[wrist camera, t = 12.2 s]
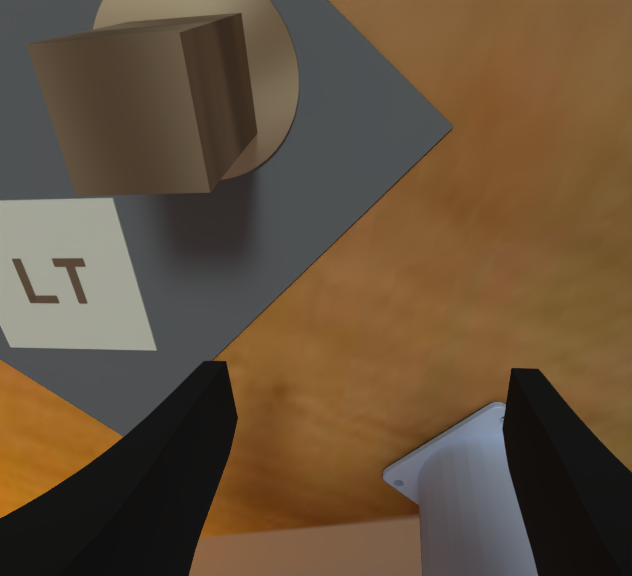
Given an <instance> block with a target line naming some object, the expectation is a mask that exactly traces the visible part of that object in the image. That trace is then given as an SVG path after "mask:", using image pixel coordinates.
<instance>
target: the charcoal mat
mask: <svg viewBox="0 0 632 576" xmlns="http://www.w3.org/2000/svg"><path fill="white" fill-rule="evenodd" d="M102 1H103V0H0V200H43V199H85V198H114V202H115V205H116V209H117V212H118V216H119V219H120V222H121V226H122V229H123V233H124V236H125V240H126V243H127V247H128V250H129V254H130V257H131V260H132V264H133V267H134V271H135V274H136V278H137V281H138V285H139V288H140V292H141V295H142V298H143V302H144V305H145V309H146V312H147V316H148V319H149V323H150V326H151V330H152V333H153V336H154V340H155V343H156V347H157V351H153V350H106V349H59V348H12V347H10V345H9V343H8V341H7V339H6V337H5V335H4V333H3V330H2V328H1V326H0V359H1V360H2V361H4V362H5V363H7V364H8V365H10V366H12V367H13V368H15V369H16V370H18V371H20V372H21V373H23V374H24V375H26V376H28V377H29V378H31V379H32V380H34V381H36V382H37V383H39V384H40V385H42V386H44V387H45V388H47V389H48V390H50V391H52V392H53V393H55V394H56V395H58V396H60V397H61V398H63V399H64V400H66V401H68V402H69V403H71V404H72V405H74V406H76V407H77V408H79V409H80V410H82V411H84V412H85V413H87V414H88V415H90V416H92V417H93V418H95V419H96V420H98V421H100V422H101V423H103V424H104V425H106V426H108V427H109V428H111V429H112V430H114V431H116V432H117V433H119V434H120V435H122V436H125V435H126V434H128V433H129V432H130V431H131V430H132V429H133V428H134V427H136V426H137V425H138V424H139V423H140V422H141V421H142V420H144V419H145V418H146V417H147V416H148V415H149V414H150V413H151V412H152V411H153V410H154V409H155V408H156V407H157V406H158V405H160V404H161V403H162V402H163V401H164V400H165V399H166V398H167V397H168V396H169V395H170V394H171V393H172V392H173V391H174V390H175V389H176V388H177V387H178V386H179V385H180V384H181V383H182V382H183V381H184V380H185V379H186V378H187V377H188V376H189V375H190V374H191V373H192V372H193V371H194V370H195V369H196V368H197V367H198V366H199V365H200V364H201V363H202V362H203V361H212V360H213V359H214V358H215V357H216V356H217V355H218V354H219V353H220V352H221V351H222V350H223V349H224V348H225V347H226V346H227V345H228V344H229V343H230V342H231V341H232V340H233V339H234V338H235V337H237V336H238V335H239V334H240V333H241V332H242V331H243V330H244V329H245V328H246V327H247V326H248V325H249V324H250V323H251V322H252V321H253V320H254V319H255V318H256V317H257V316H258V315H259V314H260V313H261V312H262V311H263V310H264V309H265V308H267V307H268V306H269V305H270V304H271V303H272V302H273V301H274V300H275V299H276V298H277V297H278V296H279V295H280V294H281V293H282V292H283V291H284V290H285V289H286V288H287V287H288V286H289V285H290V284H291V283H292V282H293V281H294V280H295V279H297V278H298V277H299V276H300V275H301V274H302V273H303V272H304V271H305V270H306V269H307V268H308V267H309V266H310V265H311V264H312V263H313V262H314V261H315V260H316V259H317V258H318V257H319V256H320V255H321V254H322V253H323V252H324V251H325V250H327V249H328V248H329V247H330V246H331V245H332V244H333V243H334V242H335V241H336V240H337V239H338V238H339V237H340V236H341V235H342V234H343V233H344V232H345V231H346V230H347V229H348V228H349V227H350V226H351V225H352V224H353V223H354V222H355V221H357V220H358V219H359V218H360V217H361V216H362V215H363V214H364V213H365V212H366V211H367V210H368V209H369V208H370V207H371V206H372V205H373V204H374V203H375V202H376V201H377V200H378V199H379V198H380V197H381V196H382V195H383V194H384V193H385V192H387V191H388V190H389V189H390V188H391V187H392V186H393V185H394V184H395V183H396V182H397V181H398V180H399V179H400V178H401V177H402V176H403V175H404V174H405V173H406V172H407V171H408V170H409V169H410V168H411V167H412V166H413V165H414V164H415V163H417V162H418V161H419V160H420V159H421V158H422V157H423V156H424V155H425V154H426V153H427V152H428V151H429V150H430V149H431V148H432V147H433V146H434V145H435V144H436V143H437V142H438V141H439V140H440V139H441V138H442V137H443V136H444V135H445V134H447V133H448V132H449V131H450V130H451V129H452V128H453V126H452V125H451V124H450V123H449V122H448V121H447V120H446V119H445V118H444V117H443V116H442V115H441V114H440V113H439V112H438V111H437V110H436V109H435V108H434V107H433V106H432V105H431V104H430V103H429V102H428V101H427V100H426V99H425V98H424V97H423V96H422V95H421V94H420V93H419V92H418V91H417V90H416V89H415V88H414V87H413V86H412V85H411V84H410V83H409V82H408V81H407V80H406V79H405V78H404V77H403V76H402V75H401V74H400V73H399V72H398V71H397V70H396V69H395V68H394V67H393V66H392V65H391V63H390V62H389V61H388V60H387V59H386V58H385V57H384V56H383V55H382V54H381V53H380V52H379V51H378V50H377V49H376V48H375V47H374V46H373V45H372V44H371V43H370V42H369V41H368V40H367V39H366V38H365V37H364V36H363V35H362V34H361V33H360V32H359V31H358V30H357V29H356V28H355V27H354V26H353V25H352V24H351V23H350V22H349V21H348V20H347V19H346V18H345V17H344V16H343V15H342V14H341V13H340V12H339V11H338V10H337V9H336V8H335V7H334V6H333V5H332V4H331V3H330V2H329V1H328V0H271V2H272V3H273V5H274V6H275V7H276V9H277V10H278V12H279V13H280V15H281V17H282V19H283V21H284V23H285V24H286V26H287V29H288V31H289V34H290V36H291V39H292V41H293V45H294V48H295V52H296V56H297V61H298V68H299V96H298V103H297V108H296V112H295V116H294V119H293V121H292V124H291V127H290V129H289V131H288V132H287V134H286V136H285V138H284V140H283V141H282V143H281V144H280V145H279V147H278V148H277V149H276V151H275V152H274V153H273V154H272V155H271V156H270V157H269V158H268V159H267V160H266V161H264V162H263V163H262V164H260V165H259V166H258V167H256V168H254V169H252V170H251V171H249V172H247V173H244V174H242V175H239V176H237V177H233V178H229V179H224V180H220V181H219V182H218V183H217V185H216V186H215V187H214V188H213V190H212V191H211V192H210V193H175V194H140V195H105V196H76V193H75V190H74V187H73V184H72V181H71V178H70V175H69V172H68V169H67V166H66V163H65V160H64V157H63V154H62V151H61V148H60V145H59V142H58V139H57V136H56V133H55V130H54V127H53V124H52V121H51V118H50V115H49V112H48V109H47V106H46V103H45V100H44V97H43V94H42V90H41V87H40V84H39V81H38V78H37V75H36V72H35V69H34V66H33V63H32V60H31V57H30V54H29V51H28V48H27V45H26V44H29V43H34V42H38V41H43V40H47V39H52V38H57V37H61V36H66V35H70V34H75V33H79V32H84V31H89V30H93V26H94V22H95V19H96V15H97V12H98V10H99V8H100V5H101V3H102Z"/></svg>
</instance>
